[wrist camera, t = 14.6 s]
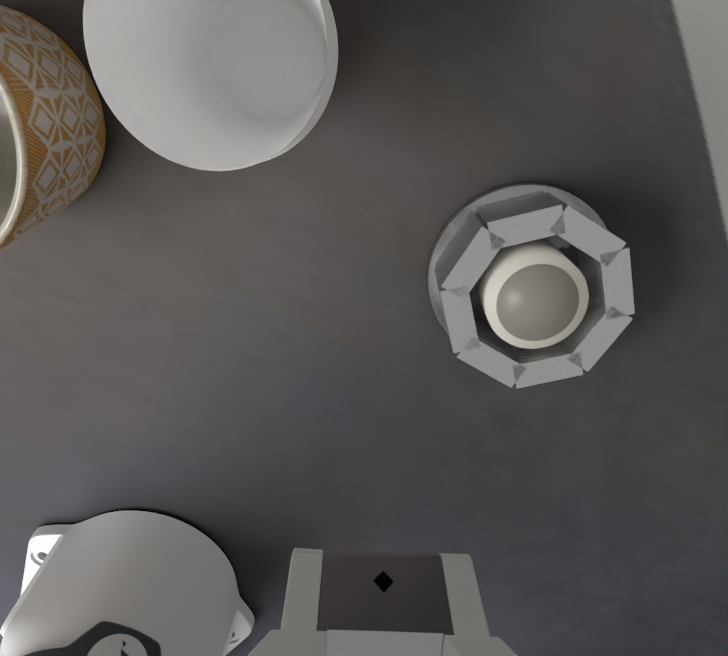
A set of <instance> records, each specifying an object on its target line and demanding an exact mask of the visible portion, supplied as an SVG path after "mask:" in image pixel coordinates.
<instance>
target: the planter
mask: <svg viewBox="0 0 728 656" xmlns="http://www.w3.org/2000/svg"><path fill="white" fill-rule="evenodd" d="M105 137H106V131H105V120H104V114H103V109H102V105H101V102H100V98H99V95H98V93H97V90H96V88H95V85H94V83H93V81H92V79H91V77H90V75H89V74H88V72H87V70H86V69H85V67H84V65H83V64H82V63H81V61H80V60H79V58H78V57H77V56H76V55H75V53H74V52H73V51H72V50H71V49H70V48H69V46H68V45H67V44H66V43H65V42H64V41H63V40H62V39H61V38H59V37H58V36H57V35H56V34H55V33H54V32H52V31H51V30H50V29H48V28H47V27H46V26H44V25H43V24H41V23H40V22H38V21H36V20H35V19H33V18H31V17H29V16H27V15H25V14H23V13H21V12H19V11H16V10H13V9H11V8H8V7H5V6H2V5H0V249H2V248H3V247H5V246H6V245H8V244H9V243H11V242H12V241H14V240H16V239H17V238H19V237H20V236H22V235H23V234H25V233H26V232H28V231H29V230H31V229H32V228H34V227H36V226H37V225H39V224H40V223H42V222H43V221H45V220H46V219H48V218H49V217H51V216H52V215H54V214H56V213H57V212H59V211H60V210H62V209H63V208H65V207H66V206H68V205H69V204H71V203H72V202H74V201H75V200H76V199H77V198H79V197H80V196H81V195H82V194H83V193H84V192H85V191H86V189H87V188H88V187H89V186H90V184H91V183H92V181H93V180H94V178H95V176H96V174H97V172H98V170H99V168H100V165H101V162H102V158H103V154H104V149H105Z"/></svg>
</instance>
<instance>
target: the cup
mask: <svg viewBox="0 0 728 656" xmlns="http://www.w3.org/2000/svg"><path fill="white" fill-rule="evenodd" d="M83 33H84V42H85V48H86V53H87V57H88V61H89V65H90V68H91V71H92V74H93V77H94V79H95V81H96V84H97V86H98V88H99V90H100V92H101V94H102V96H103V98H104V100H105V101H106V103H107V105H108V106H109V108H110V109H111V111H112V112H113V113H114V115H115V116H116V117H117V119H118V120H119V121H120V122H121V124H122V125H123V126H124V127H125V128H126V129H127V130H128V131H129V132H130V133H131V134H132V135H133V136H134V137H135V138H136V139H137V140H139V141H140V142H141V143H142V144H144V145H145V146H146V147H148V148H149V149H151V150H152V151H154V152H155V153H157V154H159V155H160V156H162V157H164V158H166V159H168V160H170V161H173V162H175V163H178V164H181V165H184V166H187V167H190V168H195V169H200V170H208V171H228V170H236V169H241V168H245V167H249V166H252V165H255V164H257V163H261V162H264V161H267V160H270V159H272V158H275V157H277V156H279V155H281V154H283V153H285V152H286V151H288V150H289V149H291V148H292V147H294V146H295V145H296V144H298V143H299V142H300V141H301V140H302V139H303V138H304V137H305V136H306V135H307V134H308V133H309V132H310V131H311V130H312V128H313V127H314V126H315V124H316V123H317V122H318V120H319V118H320V117H321V115H322V114H323V112H324V110H325V108H326V106H327V104H328V101H329V99H330V96H331V93H332V90H333V87H334V83H335V79H336V73H337V65H338V38H337V30H336V24H335V19H334V15H333V12H332V8H331V5H330V3H329V0H84V7H83Z"/></svg>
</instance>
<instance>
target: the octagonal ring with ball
mask: <svg viewBox="0 0 728 656" xmlns="http://www.w3.org/2000/svg"><path fill="white" fill-rule="evenodd" d="M541 238H543V239H546V240H547V241H549V242H551V243H552V244H553V245H554V246H555V247H556V248H557V249H558V250H559V251H561V252H562V253H563V254H564V255H565V256H566V257H567V258H568V259H569V260H570V261H571V262H572V263H573V264H574V265H575V266H576V267H577V268H578V269H579V270H580V271H581V273H582V275H583V276H584V278H585V280H586V283H587V287H588V293H589V299H588V306H587V310H586V313H585V315H584V317H583V319H582V321H581V322H580V324H579V325H578V327H577V328H576V329H575V330H574V331H573V332H572V333H571V334H570V335H569V336H567V337H566V338H565V339H563V340H561V341H560V342H558V343H556V344H553V345H551V346H548V347H543V348H537V349H526V348H520V347H516V346H514V345H511V344H509V343H507V342H505V341H504V340H503V339H501V338H500V337H499V336H498V335H497V334H496V333H495V332H494V330H493V329H492V327H491V325H490V323H489V321H488V319H487V317H486V315H485V312H484V310H483V308H482V306H481V304H480V301H479V299H478V297H477V294H476V290H475V284H476V282H477V281H478V280H479V278H480V277H481V275H482V274H483V272H484V271H485V270H486V268H487V267H488V265H489V264H490V263H491V261H492V260H493V258H494V257H495V256H496V254H497V253H498V251H499V250H500V248H503V247H508V246H512V245H516V244H520V243H525V242H529V241H533V240H537V239H541ZM625 244H626V242H624V241H623V240H621V239H620V238H618V237H617V236H615V235H614V234H612V233H611V232H609V231H608V230H607V228H606V226H605V224H604V223H603V221H602V220H601V218H600V217H599V215H598V214H597V213H596V212H595V211H594V210H593V209H592V208H591V207H590V206H589V205H587V204H586V203H585V202H583V201H582V200H581V199H579V198H578V197H576V196H574V195H572V194H571V193H569V192H567V191H565V190H563V189H560V188H557V187H555V186H551V185H547V184H542V183H532V182H523V183H513V184H507V185H502V186H499V187H496V188H493V189H490V190H488V191H486V192H484V193H481V194H479V195H478V196H476V197H474V198H473V199H471V200H470V201H468V202H467V203H466V204H464V205H463V206H462V207H461V208H459V209H458V210H457V211H456V212H455V213H454V214H453V215H452V216H451V217H450V219H449V220H448V221H447V223H446V224H445V225H444V227H443V228H442V229H441V231H440V233H439V235H438V236H437V238H436V240H435V243H434V245H433V248H432V250H431V254H430V258H429V262H428V270H427V285H428V291H429V297H430V301H431V304H432V307H433V311H434V313H435V315H436V317H437V319H438V321H439V323H440V324H441V326H442V327H443V329H444V330H445V331H446V332H447V334H448V335H449V339H450V342H451V346H452V350H453V353H456V357H457V358H459V359H460V360H462V361H464V362H466V363H468V364H469V365H471V366H473V367H475V368H477V369H478V370H480V371H482V372H484V373H486V374H487V375H489V376H491V377H493V378H494V379H496V380H498V381H500V382H502V383H503V384H505V385H507V386H509V387H511V388H512V386H513V385H514V384H515V386H516V388H522V387H527V386H532V385H536V384H541V383H546V382H551V381H556V380H560V379H565V378H570V377H575V376H580V375H583V369H584V370H586V371H589V370H590V369H591V368H592V367H593V366H594V364H595V363H596V362H597V361H598V360H599V358H600V357H601V356H602V355H603V354H604V353H605V351H606V350H607V349H608V348H609V347H610V345H611V344H612V343H613V342H614V341H615V340H616V338H617V337H618V336H619V335H620V334H621V332H622V331H623V330H624V329H625V328H626V327H627V325H628V324H629V323H630V322H631V321H632V318H631V317H630V316H629V315H631V314H635V310H634V298H633V286H632V274H631V261H630V249H629V247H627V246H626V245H625Z"/></svg>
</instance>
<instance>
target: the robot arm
mask: <svg viewBox="0 0 728 656" xmlns="http://www.w3.org/2000/svg"><path fill="white" fill-rule="evenodd" d="M254 623H255V618H254V615H253V613H252V612H251V610H250V609H249V607H248V606H247V605H246V604H245V602H244V601H243V600H242V599H241V597H240V595H239V592H238V587H237V582H236V577H235V573H234V571H233V568H232V566H231V564H230V562H229V560H228V559H227V557H226V556H225V554H224V553H223V552H222V550H221V549H220V548H219V547H218V546H217V545H216V544H215V543H214V542H213V541H212V540H211V539H210V538H208V537H207V536H206V535H204V534H203V533H202V532H200V531H199V530H197V529H195V528H194V527H192V526H190V525H188V524H186V523H184V522H182V521H179V520H177V519H174V518H172V517H169V516H165V515H162V514H157V513H152V512H146V511H116V512H110V513H105V514H101V515H98V516H95V517H93V518H90V519H88V520H85V521H83V522H80V523H77V524H72V525H46V526H41V527H39V528H37V529H36V530H35V532H34V533H33V535H32V537H31V539H30V540H29V544H28V550H27V556H26V563H25V569H24V576H23V582H22V589H21V595H20V598H19V600H18V601H17V603H16V604H15V606H14V608H13V609H12V611H11V612H10V614H9V615H8V617H7V619H6V620H5V622H4V624H3V626H2V628H1V630H0V633H1V635H2V636H3V639H2V642H1V647H0V656H226V654H228V653H229V652H230V651H231V650H232V649H233V648H235V647H236V646H237V645H238V644H239V643H241V642H242V641H243V640H244V639H245V638H246V637H248V636H249V635H250V633H251V631H252V628H253V626H254ZM247 656H517V655H516V654H515V653H514V652H513V651H512V650H511V649H510V648H509V647H508V646H507V645H506V643H505V642H504V641H503V640H502V639H501V638H500V637H490V634H489V630H488V626H487V621H486V617H485V613H484V609H483V605H482V600H481V596H480V592H479V588H478V584H477V579H476V575H475V571H474V567H473V563H472V558H471V557H470V556H469V555H468V554H446V553H439V555H438V554H436V553H398V552H367V551H351V550H334V549H324V550H321V549H306V548H294V550H293V553H292V556H291V562H290V569H289V576H288V583H287V589H286V596H285V603H284V609H283V616H282V623H281V630H270V632H269V633H268V634H267V635H266V636H265V637H264V638H263V639H262V640H261V641H260V642H259V643H258V645H257V646H256V647H255V648H254V649H253V650H252V651H251V652H250V653H249V654H248V655H247Z"/></svg>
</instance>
